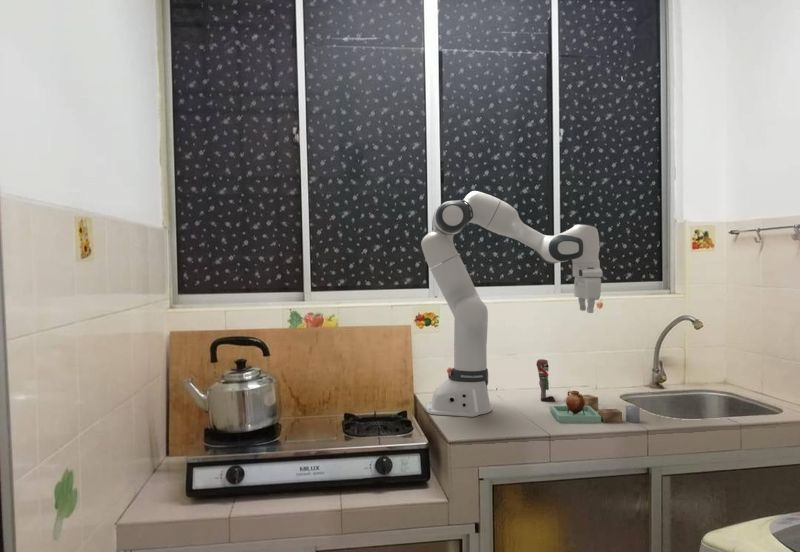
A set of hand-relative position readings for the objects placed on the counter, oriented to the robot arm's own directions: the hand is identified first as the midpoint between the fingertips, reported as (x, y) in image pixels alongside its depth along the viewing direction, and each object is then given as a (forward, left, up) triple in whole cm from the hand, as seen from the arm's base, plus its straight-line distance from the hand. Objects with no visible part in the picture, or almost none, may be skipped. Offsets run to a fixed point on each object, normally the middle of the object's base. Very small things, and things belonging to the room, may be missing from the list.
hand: (586, 311), depth 186 cm
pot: (-7, -12, -33) cm, 36 cm away
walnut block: (+3, -16, -33) cm, 37 cm away
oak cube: (0, -2, -33) cm, 33 cm away
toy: (-12, +10, -33) cm, 37 cm away
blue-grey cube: (+10, -16, -33) cm, 38 cm away
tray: (-7, -12, -33) cm, 36 cm away
